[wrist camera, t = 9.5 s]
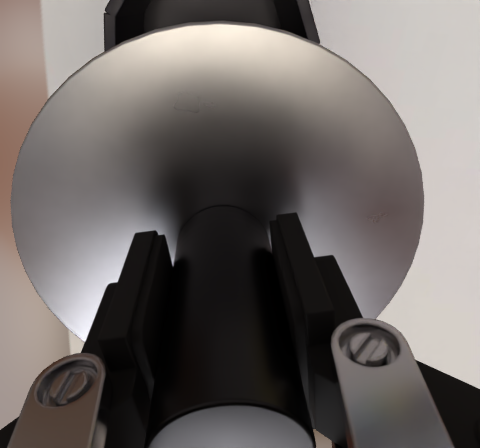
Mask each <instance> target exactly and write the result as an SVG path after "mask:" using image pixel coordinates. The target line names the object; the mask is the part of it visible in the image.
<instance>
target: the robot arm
mask: <svg viewBox="0 0 480 448" xmlns="http://www.w3.org/2000/svg"><path fill="white" fill-rule="evenodd" d="M269 225H270V236H271V247H272V256H273V260H274V264H275V269H276V273H277V278H278V282H279V287H280V291H281V295H282V300H283V304H284V309H285V313H286V318H287V322H288V326H289V331H290V335H291V340H292V344H293V348H294V353H295V357H296V362H297V364H298V367H299V371H300V376H301V380H302V384H303V389H304V393H305V397H306V402H307V406H308V410H309V415H310V419H311V424H312V428H313V429H316V430H317V431H318V432H320V433H321V434H323V435H324V436H326V437H327V438H329V439H330V440H332V448H480V389H478V388H476V387H474V386H472V385H469V384H467V383H465V382H463V381H461V380H458V379H456V378H454V377H452V376H450V375H447V374H445V373H443V372H441V371H439V370H437V369H434V368H432V367H430V366H428V365H426V364H423V363H421V362H419V361H417V360H415V358H414V356H413V353H412V351H411V349H410V347H409V345H408V342H407V341H406V339H405V338H404V336H403V335H402V333H401V332H400V331H398V330H397V329H396V328H395V327H393V326H392V325H390V324H388V323H386V322H383V321H380V320H376V319H372V318H363V316H362V314H361V312H360V310H359V308H358V305H357V303H356V301H355V299H354V297H353V295H352V293H351V290H350V288H349V286H348V284H347V282H346V280H345V278H344V276H343V273H342V271H341V269H340V267H339V265H338V263H337V261H336V259H335V257H334V256H333V255H327V256H319V257H314V255H313V253H312V250H311V248H310V245H309V242H308V240H307V237H306V235H305V232H304V230H303V227H302V224H301V222H300V219H299V217H298V214H297V212H294V213H286V214H278V215H276V220H272V221H269ZM172 270H173V265H172V261H171V257H170V252H169V248H168V244H167V240H166V237H165V235H164V234H163V235H158V232H157V231H156V230H153V231H145V232H138V233H135V234H134V237H133V240H132V242H131V245H130V248H129V251H128V254H127V257H126V260H125V262H124V265H123V268H122V271H121V274H120V277H119V279H118V282H114V283H110V284H108V285H107V287H106V289H105V292H104V294H103V297H102V300H101V302H100V305H99V307H98V310H97V313H96V315H95V318H94V320H93V323H92V326H91V328H90V331H89V333H88V336H87V339H86V341H85V344H84V346H83V349H82V352H81V353H77V354H73V355H69V356H66V357H63V358H62V359H59V360H58V361H56V362H54V363H52V364H51V365H50V366H48V367H47V368H46V369H44V370H43V371H42V372H41V373H40V374H39V376H38V377H37V378H36V379H35V381H34V382H33V384H32V386H31V388H30V390H29V392H28V395H27V398H26V400H25V403H24V405H23V408H22V410H21V413H20V416H19V417H18V418H16V419H15V420H13V421H12V422H11V423H9V424H8V425H7V426H5V427H4V428H2V429H1V430H0V448H144V443H145V437H146V431H147V425H148V419H149V412H150V406H151V400H152V394H153V388H154V381H155V375H156V369H157V363H158V357H159V350H160V344H161V338H162V332H163V326H164V319H165V313H166V307H167V301H168V295H169V289H170V282H171V276H172Z"/></svg>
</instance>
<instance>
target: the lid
mask: <svg viewBox="0 0 480 448" xmlns="http://www.w3.org/2000/svg"><path fill="white" fill-rule="evenodd" d="M294 212H297V214H298V217H299V219H300V222H301V224H302V227H303V230H304V232H305V235H306V237H307V240H308V242H309V245H310V248H311V250H312V253H313V255H314V257H319V256H327V255H333V256H334V257H335V259H336V261H337V263H338V265H339V267H340V269H341V271H342V273H343V276H344V278H345V280H346V282H347V284H348V286H349V288H350V290H351V293H352V295H353V297H354V299H355V301H356V303H357V305H358V308H359V310H360V312H361V314H362V316H363V318H372V319H376V318H377V317H378V315H379V314H380V313H381V312H382V311H383V310H384V308H385V307H386V306H387V305H388V304H389V303H390V301H391V300H392V298H393V297H394V295H395V294H396V292H397V291H398V289H399V288H400V286H401V285H402V283H403V281H404V279H405V277H406V275H407V273H408V271H409V269H410V267H411V265H412V262H413V259H414V256H415V253H416V250H417V247H418V244H419V239H420V234H421V229H422V224H423V212H424V191H423V182H422V172H421V169H420V165H419V161H418V157H417V153H416V150H415V147H414V145H413V142H412V140H411V138H410V136H409V133H408V131H407V129H406V126H405V124H404V123H403V121H402V120H401V118H400V116H399V115H398V113H397V112H396V110H395V109H394V107H393V106H392V104H391V103H390V101H389V100H388V99H387V98H386V97H385V95H384V94H383V93H382V92H381V91H380V90H379V89H378V88H377V86H376V85H375V84H374V83H373V82H372V81H371V80H370V79H369V78H368V77H367V76H365V75H364V74H363V73H362V72H360V71H359V70H358V69H357V68H356V67H354V66H353V65H352V64H351V63H349V62H348V61H347V60H345V59H344V58H342V57H340V56H339V55H337V54H335V53H334V52H332V51H330V50H328V49H327V48H325V47H323V46H322V45H320V44H318V43H315V42H313V41H310V40H308V39H305V38H303V37H300V36H298V35H295V34H293V33H290V32H288V31H284V30H280V29H276V28H272V27H267V26H263V25H259V24H255V23H243V22H232V21H207V22H190V23H184V24H179V25H175V26H170V27H165V28H160V29H156V30H153V31H150V32H148V33H145V34H142V35H139V36H137V37H134V38H131V39H129V40H126V41H123V42H121V43H120V44H118V45H116V46H114V47H112V48H111V49H109V50H107V51H105V52H103V53H102V54H100V55H98V56H96V57H94V58H93V59H92V60H90V61H89V62H88V63H86V64H85V65H84V66H83V67H81V68H80V69H79V70H77V71H76V72H75V73H74V74H72V75H71V76H70V77H68V79H67V80H66V81H65V82H64V83H63V84H62V85H61V86H60V87H59V88H58V89H57V90H56V91H55V92H54V94H53V95H52V96H51V97H50V98H49V99H48V100H47V102H46V103H45V105H44V106H43V108H42V109H41V111H40V112H39V114H38V115H37V117H36V118H35V119H34V121H33V122H32V124H31V127H30V129H29V131H28V133H27V135H26V137H25V140H24V142H23V144H22V146H21V149H20V152H19V155H18V159H17V163H16V166H15V170H14V174H13V182H12V192H11V214H12V228H13V232H14V237H15V242H16V246H17V250H18V253H19V255H20V258H21V261H22V263H23V266H24V269H25V271H26V273H27V275H28V277H29V279H30V281H31V283H32V284H33V286H34V288H35V290H36V292H37V293H38V294H39V296H40V297H41V298H42V300H43V301H44V303H45V304H46V305H47V307H48V308H49V310H51V312H52V313H53V314H54V315H55V316H56V317H57V318H58V319H59V320H60V321H61V322H62V324H63V325H64V326H65V327H66V328H68V329H69V330H70V331H71V332H72V333H74V334H75V335H76V336H77V337H78V338H80V339H81V340H82V341H83V342H85V341H86V339H87V336H88V333H89V331H90V328H91V326H92V323H93V320H94V318H95V315H96V313H97V310H98V307H99V305H100V302H101V300H102V297H103V294H104V292H105V289H106V287H107V285H108V284H110V283H114V282H118V279H119V277H120V274H121V271H122V268H123V265H124V262H125V260H126V257H127V254H128V251H129V248H130V245H131V242H132V240H133V237H134V234H135V233H138V232H145V231H153V230H156V231H157V232H158V235H163V234H164V235H165V237H166V240H167V244H168V248H169V252H170V257H171V261H172V265H173V270H172V276H171V282H170V289H169V295H168V301H167V307H166V313H165V319H164V326H163V332H162V338H161V344H160V350H159V357H158V363H157V369H156V375H155V381H154V388H153V394H152V400H151V406H150V412H149V419H148V425H147V431H146V437H145V443H144V448H316V442H315V437H314V432H313V428H312V424H311V419H310V415H309V410H308V406H307V402H306V397H305V393H304V389H303V384H302V380H301V376H300V371H299V367H298V364H297V362H296V357H295V353H294V348H293V344H292V340H291V335H290V331H289V326H288V322H287V318H286V313H285V309H284V304H283V300H282V295H281V291H280V287H279V282H278V278H277V273H276V269H275V264H274V260H273V256H272V247H271V236H270V225H269V221H272V220H276V215H278V214H286V213H294Z"/></svg>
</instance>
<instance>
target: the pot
mask: <svg viewBox="0 0 480 448" xmlns="http://www.w3.org/2000/svg"><path fill="white" fill-rule="evenodd" d="M105 12H107V13H104V52H105V51H107V50H109V49H111V48H112V47H114V46H116V45H118V44H120V43H121V42H123V41H126V40H129V39H131V38H134V37H137V36H139V35H142V34H145V33H148V32H150V31H153V30H156V29H160V28H165V27H170V26H175V25H179V24H184V23H190V22H207V21H232V22H243V23H255V24H259V25H263V26H267V27H272V28H276V29H280V30H284V31H288V32H290V33H293V34H295V35H298V36H300V37H303V38H305V39H308V40H310V41H313V42H315V43H318V44H320V39H319V36H318V32H317V29H316V25H315V22H314V18H313V14H312V11H311V7H310V4H309V0H110V1H109V3H108V5H107V6H106V8H105Z"/></svg>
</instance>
